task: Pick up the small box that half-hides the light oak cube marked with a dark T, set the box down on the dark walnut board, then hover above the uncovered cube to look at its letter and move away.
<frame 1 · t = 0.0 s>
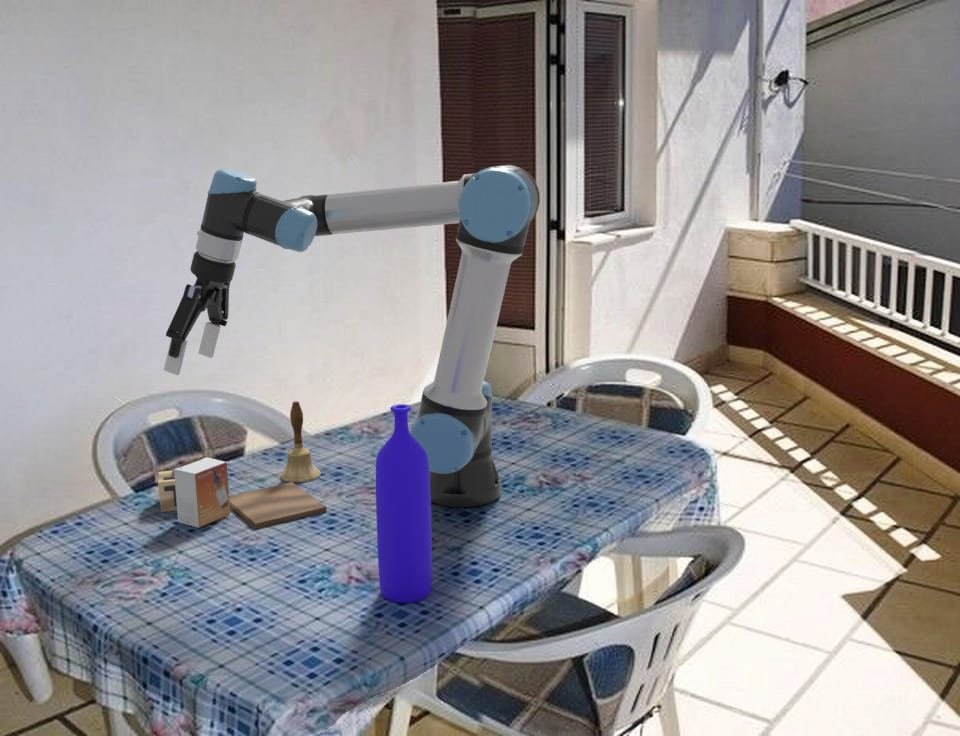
hand: (189, 363, 179), 28 cm above the table, tool tilted 20°, fingers open, 13 cm apart
bottle: (405, 593, 150), on the table
hand bell: (300, 476, 201), on the table
letter cube: (177, 504, 186), on the table
small box: (204, 519, 179), on the table
walnut board: (275, 506, 185), on the table
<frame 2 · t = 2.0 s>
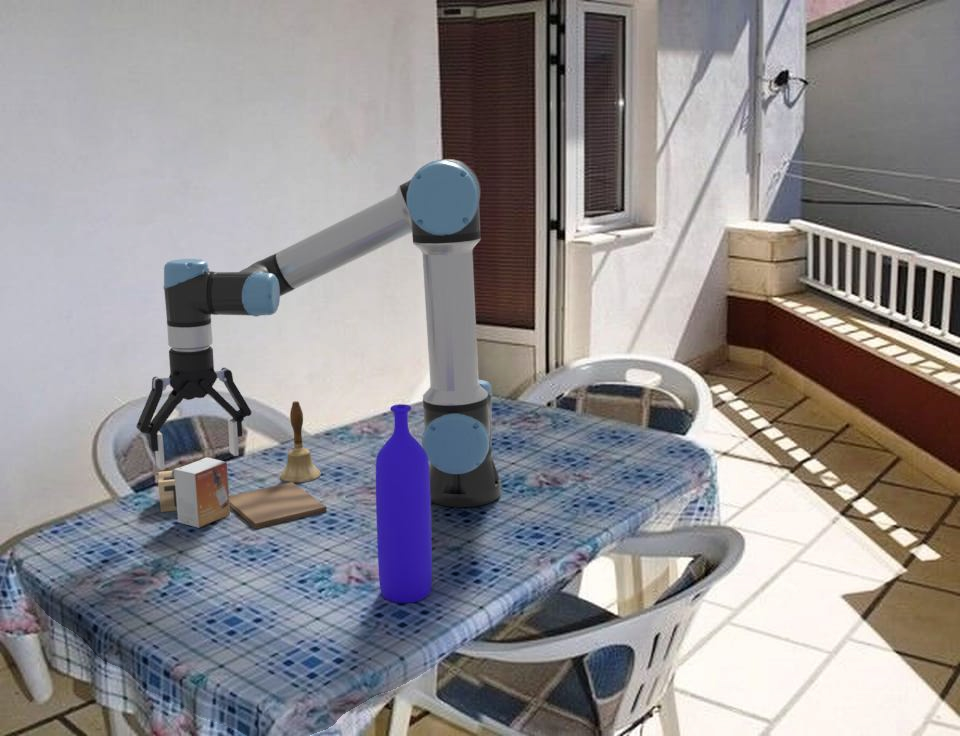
hand: (198, 460, 177), 11 cm above the table, tool pointing down, fingers open, 13 cm apart
nothing on the table moved.
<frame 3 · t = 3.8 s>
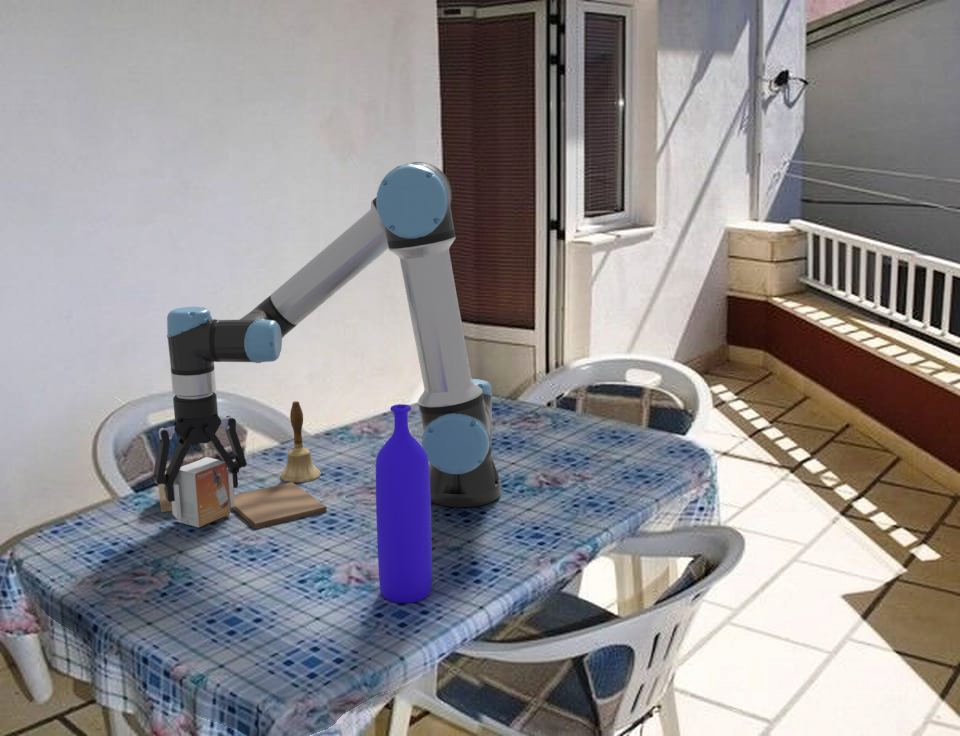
hand: (204, 510, 179), 2 cm above the table, tool pointing down, fingers closed on small box, 9 cm apart
small box: (204, 519, 179), on the table, touching gripper
everything else where it was.
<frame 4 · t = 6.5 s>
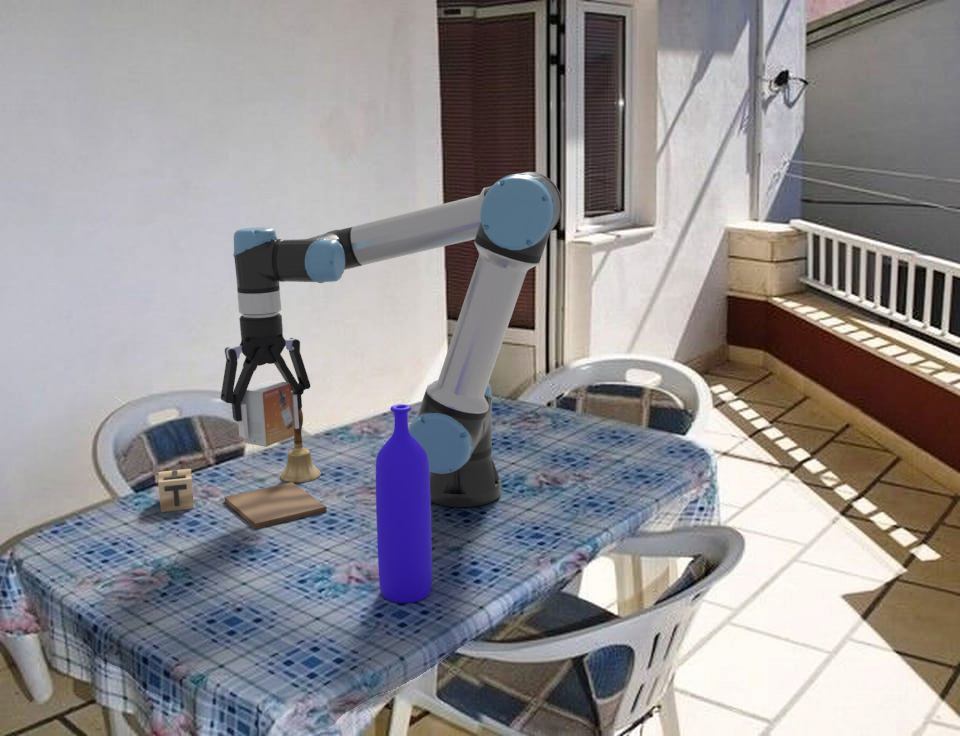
hand: (269, 431, 181), 15 cm above the table, tool pointing down, fingers closed on small box, 9 cm apart
small box: (270, 440, 181), point 13 cm above the table, touching gripper
everything else where it was.
when the fingers open (4 cm above the table, at t = 9.6 s): small box drops 1 cm, resting on walnut board.
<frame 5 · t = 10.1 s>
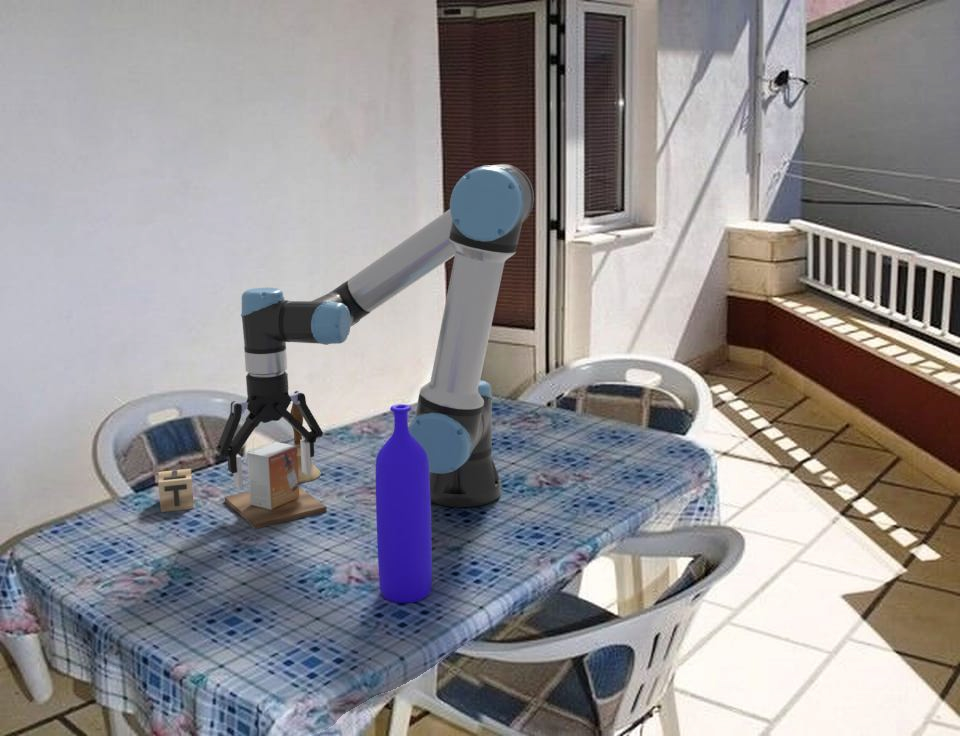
hand: (273, 480, 183), 5 cm above the table, tool pointing down, fingers open, 13 cm apart
small box: (275, 502, 185), point 1 cm above the table, touching walnut board
everything else where it was.
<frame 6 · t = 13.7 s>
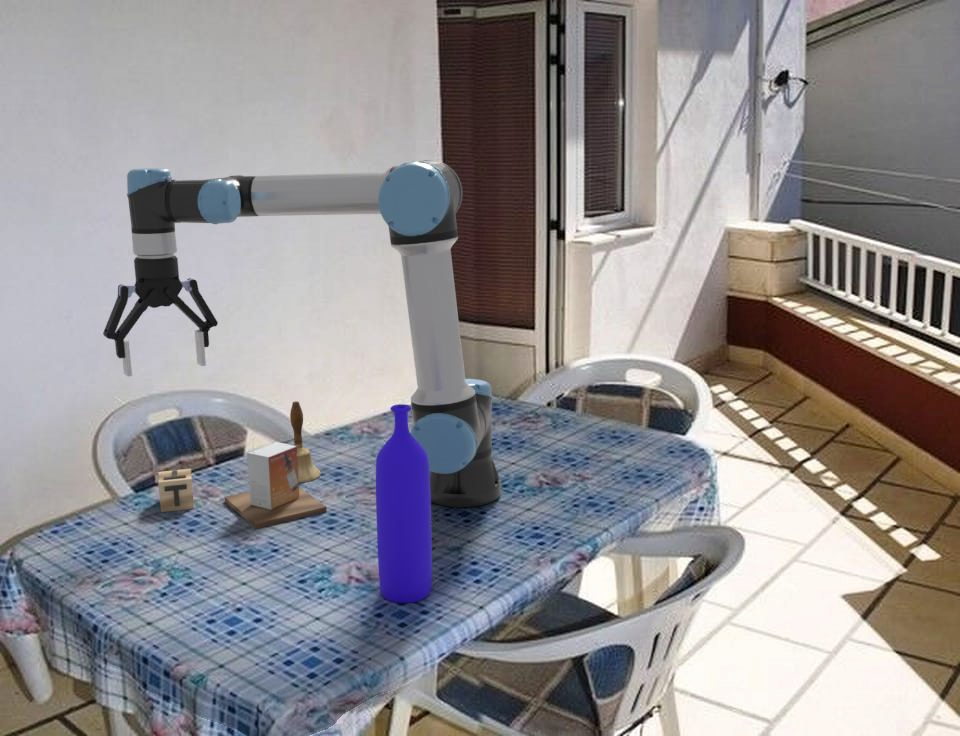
hand: (165, 369, 180), 27 cm above the table, tool pointing down, fingers open, 13 cm apart
nothing on the table moved.
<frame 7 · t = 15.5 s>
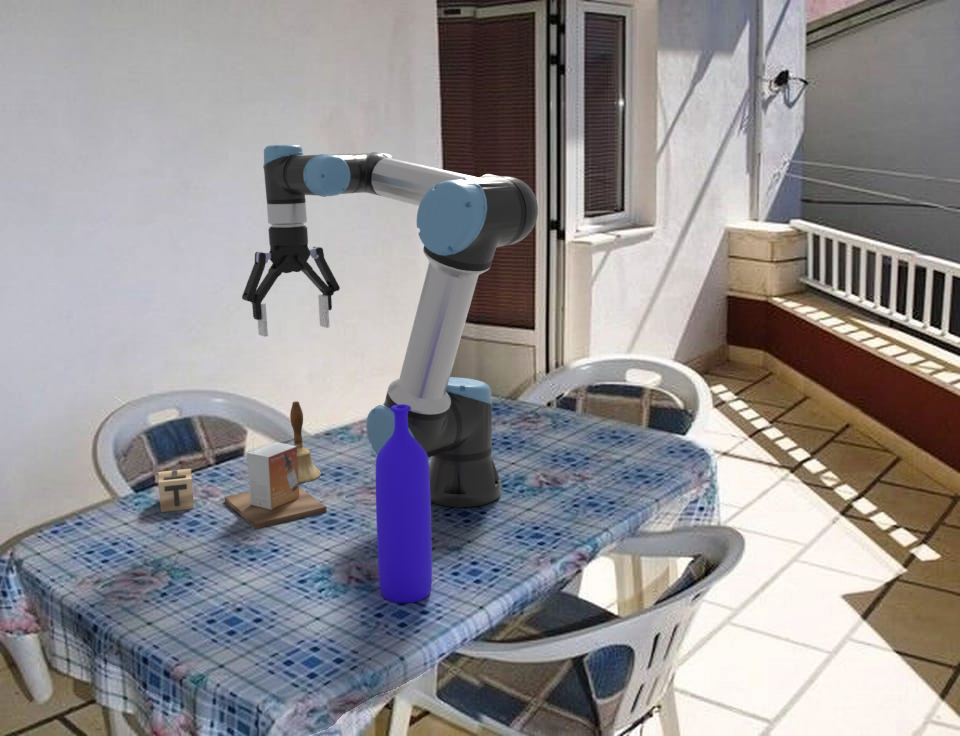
hand: (294, 331, 195), 30 cm above the table, tool pointing down, fingers open, 13 cm apart
nothing on the table moved.
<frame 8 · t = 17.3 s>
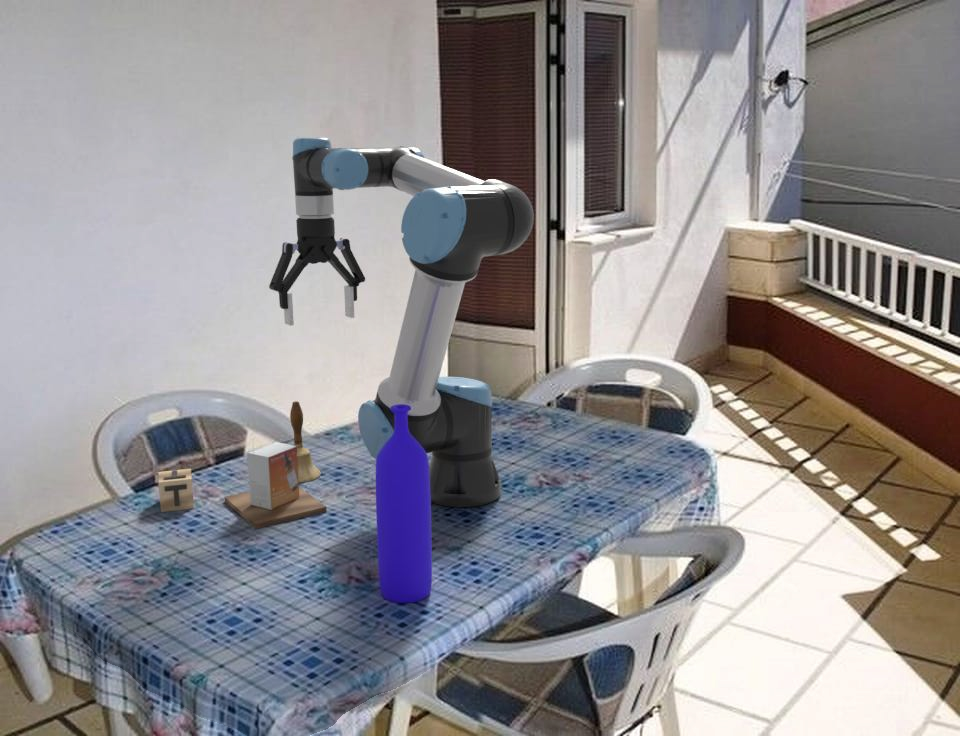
hand: (320, 320, 199), 32 cm above the table, tool pointing down, fingers open, 13 cm apart
nothing on the table moved.
at the end: small box inside the target area on the walnut board (0.1 cm from its centre), point 0.8 cm above the walnut board's base; small box tilted 0°; letter cube moved 0.1 cm from its start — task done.
